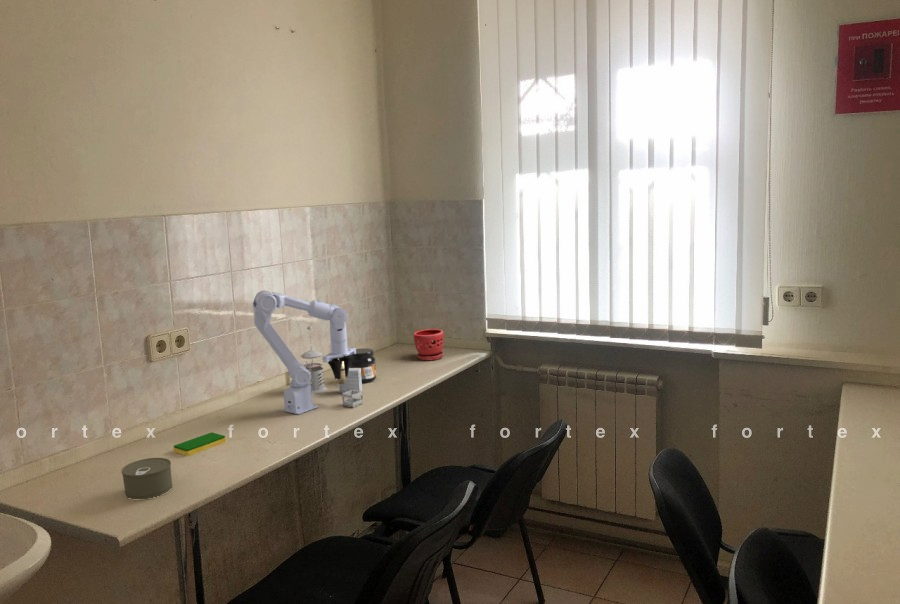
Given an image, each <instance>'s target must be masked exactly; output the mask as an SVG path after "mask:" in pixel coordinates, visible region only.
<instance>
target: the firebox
mask: <svg viewBox="0 0 900 604" xmlns="http://www.w3.org/2000/svg"><path fill="white" fill-rule="evenodd" d="M341 395H342V406H343V405H345V406H344V407H347V406H350V407H349V408H352V407H354V406H356V407H358V406H357V405H359V406H361V405H360V404H362V403H363V404H364V402H363V401H364V398H363V397H364V396H363V391H362V390H361V391H356V390H350V391H347V392H345V393H341ZM358 397H360V398H358ZM345 398H347V399H345ZM363 404H362V405H363ZM354 408H355V407H354Z"/></svg>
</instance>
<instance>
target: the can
mask: <svg viewBox="0 0 900 604" xmlns="http://www.w3.org/2000/svg"><path fill="white" fill-rule="evenodd" d="M171 465H172V463H171V460H170V459H168V458H164V457H150V458H144V459H139V460H136V461H133V462H131V463H128V464H126V465H125V466H124V467H122V469H121V474H122V479H123V487H124V495H126V496H127V497H128V498H131V499H147V500H149V499H148V498H153V497H156V498H158V497H157V496H159V497H161V496H160V495H162V494H164V493H166V492H168V491H169V490H170V489H171V488H172V489H173V487H174V486H173V478H172V470H171V469H172V467H171ZM172 486H173V487H172ZM172 489H171V490H172ZM171 490H170V491H171ZM170 491H169V492H170ZM169 492H168V493H169ZM166 494H167V493H166ZM164 495H165V494H164ZM126 496H125V497H126ZM162 496H163V495H162ZM128 498H127V499H128ZM131 499H130V500H131ZM153 499H154V498H153Z"/></svg>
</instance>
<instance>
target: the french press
mask: <svg viewBox="0 0 900 604" xmlns="http://www.w3.org/2000/svg"><path fill="white" fill-rule="evenodd" d="M306 329H307V330H313V326H311V325H309V326H307V327H306ZM309 340H310V343H312V337H311V334H309ZM322 355H323V353H322V352H320V351H318V350H312V347H310V350H307V351H305V352H304V353H302V354H301V355H300V358H302V359H306V361H305V364H303V365H304V366H305V367H306V369H307V370H309V372H310V373H311V380H310V381H311V390H312V394H319V392H320V393H323V392H326V391H327V390H328V388H327V387H326V386H325V377H324V376H325V375H324V367H322V365H323V363H320V362H313V359H316V358H317V359H318V358H320V357H323V356H322ZM307 359H308V360H311V361H310V363H308V361H307ZM325 390H326V391H325Z"/></svg>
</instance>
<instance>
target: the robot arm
mask: <svg viewBox="0 0 900 604" xmlns="http://www.w3.org/2000/svg"><path fill="white" fill-rule="evenodd" d="M252 307H253V310H252V311H253V324H254V326H255V327H256V328H257V330H258V331H259V333H260V334H261V335H262V336H263V338H264V339H265V341H267V343H268V344H269V346H270V347H271V348H272V350H273V351H274V352H275V354H276V355H277V356H278V358H279V360H280V361H281V362H282V364H283V365H284V366H285V367H286V369H287V371H288V375H289V378H290V379H291V381H290V383H289V386H288V387H287V388H285V389H284V391H283V406H284V409H283V412H286V413H291V414H295V415H300V414H304V413H306V412H309V411H311V410H314V409H317V408H319V406H318V405H316V404H313V393H312V390H311V383H312V382H311V372H309V370H307V369H306V367H305V366H304V365H305V364H303V363H301V362H300V361H299V360H298V359H297V358H296V356H295V355H294V354H293V352H292V351H291V349H290V348H289V347H288V345H287V344H286V343H285V341H284V339H282V337H281V336H280V335H279V333H278V332H277V331H276V329H275V328H274V326H273V325H272V324H271V322H270V321H271V317H272V315H273V313H274V311H275V309H281V308H284V307H289V308H294V309H296V310H297V309H298V310H301V311H304V312H305V311H306V312H307V315H308V316H310V317H311V318H312V317H313V318H316V319H320V320H323V321H329V335H330V349H331V350H330V352H329V353H328V354H326V355H324V356H322V362H323V363H327V364H328V365H329V367H330V368H331V371H332V374H333V376H334V379H335V380H337V379H340V378H341V364H342V361H339V360H344V361H345V376H346V377H347V376H348V371H349V367H350V364H351V362H352V360H353V357H352V356H350V355H351V354H356V349H357V348H355V347H351V348H348V334H347V333H348V332H347V326H346V323H347V320H348V315H347V312H346V311H345V310H344V309H343V308H341V307H340V306H339V305H335V304H333V303H331V304H330V303H326V302H323V300H322V299H317V300H315V299H313V300H311V301H306V300H303V299H299V298H296V297H294V296H290V295H287V294H285V293H280V292H277V291H276V292H275V291H268V290H260V291H258V292H257V293H256V295H255V296H254V299H253V302H252Z"/></svg>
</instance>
